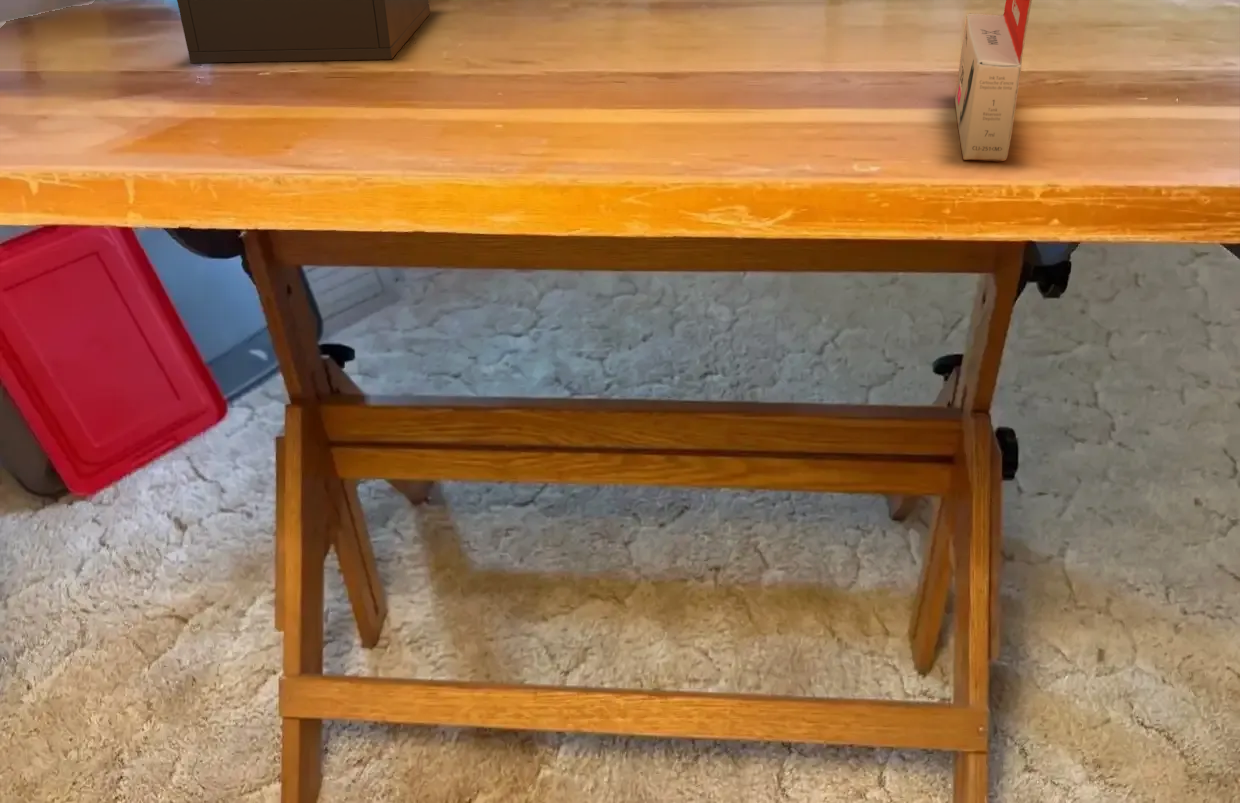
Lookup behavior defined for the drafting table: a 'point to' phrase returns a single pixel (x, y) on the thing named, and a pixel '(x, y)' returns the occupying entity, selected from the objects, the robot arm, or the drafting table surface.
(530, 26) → the drafting table surface
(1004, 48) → the ink box
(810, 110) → the drafting table surface
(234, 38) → the bin
